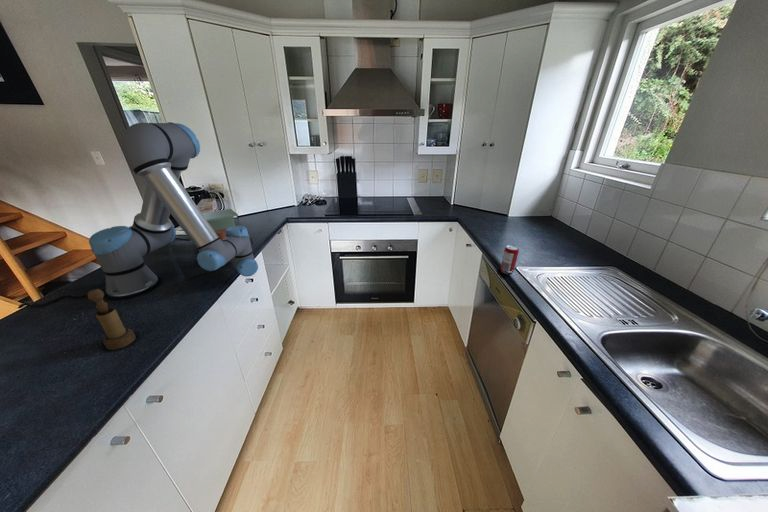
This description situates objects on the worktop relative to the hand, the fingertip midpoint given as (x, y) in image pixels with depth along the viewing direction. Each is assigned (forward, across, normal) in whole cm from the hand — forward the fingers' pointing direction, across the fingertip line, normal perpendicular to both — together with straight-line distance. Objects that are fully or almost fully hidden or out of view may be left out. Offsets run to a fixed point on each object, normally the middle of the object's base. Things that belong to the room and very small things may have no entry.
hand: (225, 241), depth 131 cm
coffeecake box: (+30, +1, -7) cm, 31 cm away
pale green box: (+4, 0, -6) cm, 8 cm away
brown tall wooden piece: (-46, -40, -7) cm, 61 cm away
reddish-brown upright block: (+3, 0, -6) cm, 7 cm away
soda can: (-98, +89, -7) cm, 133 cm away
